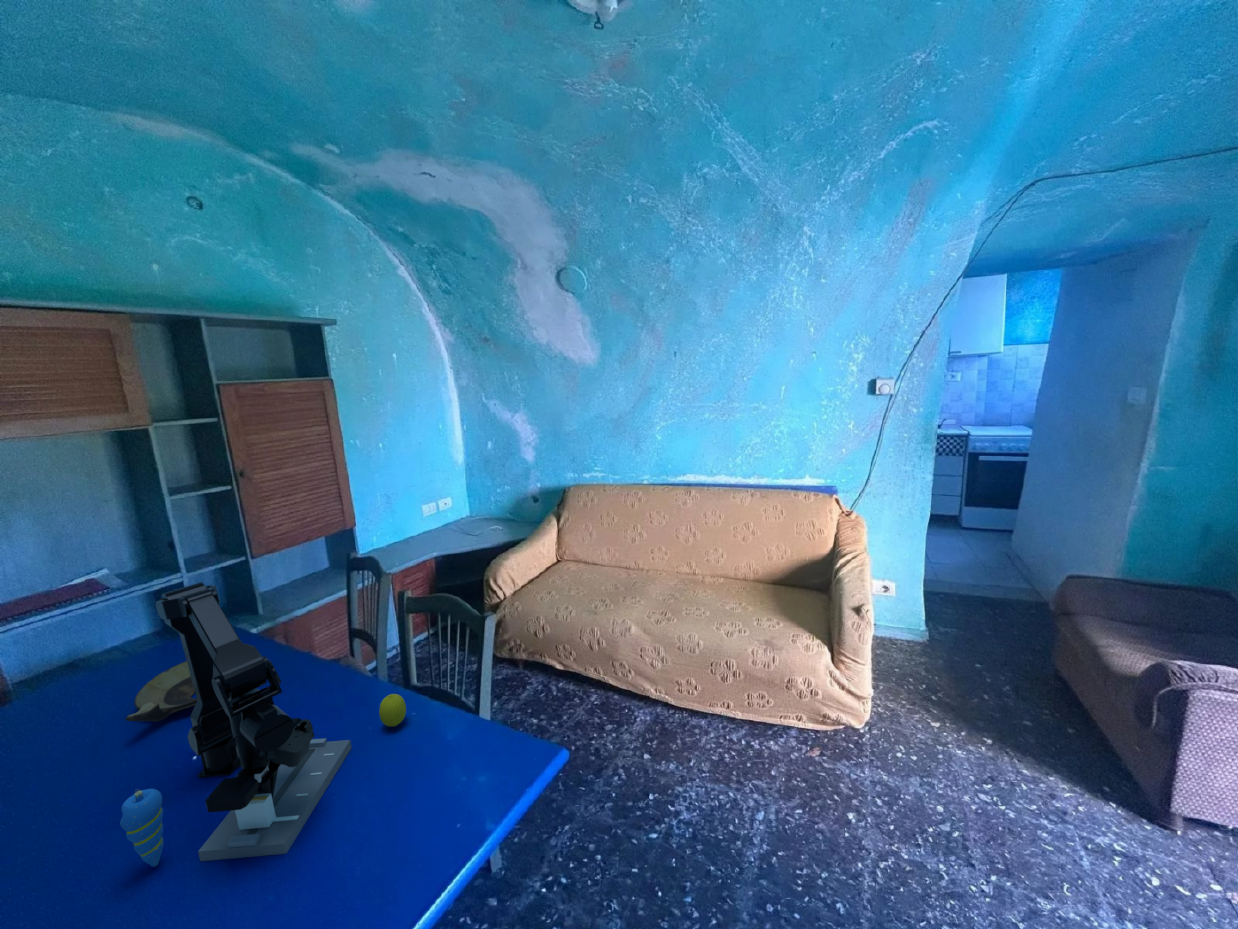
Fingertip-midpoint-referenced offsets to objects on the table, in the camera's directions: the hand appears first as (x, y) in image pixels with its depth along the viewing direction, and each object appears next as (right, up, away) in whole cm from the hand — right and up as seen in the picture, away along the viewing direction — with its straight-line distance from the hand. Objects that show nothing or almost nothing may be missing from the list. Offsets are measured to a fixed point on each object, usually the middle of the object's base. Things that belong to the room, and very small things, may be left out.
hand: (268, 800), depth 92 cm
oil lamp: (-46, +1, +36) cm, 58 cm away
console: (0, -3, +5) cm, 5 cm away
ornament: (-13, -6, -8) cm, 16 cm away
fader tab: (0, -2, -3) cm, 4 cm away
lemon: (+13, +1, +23) cm, 27 cm away
